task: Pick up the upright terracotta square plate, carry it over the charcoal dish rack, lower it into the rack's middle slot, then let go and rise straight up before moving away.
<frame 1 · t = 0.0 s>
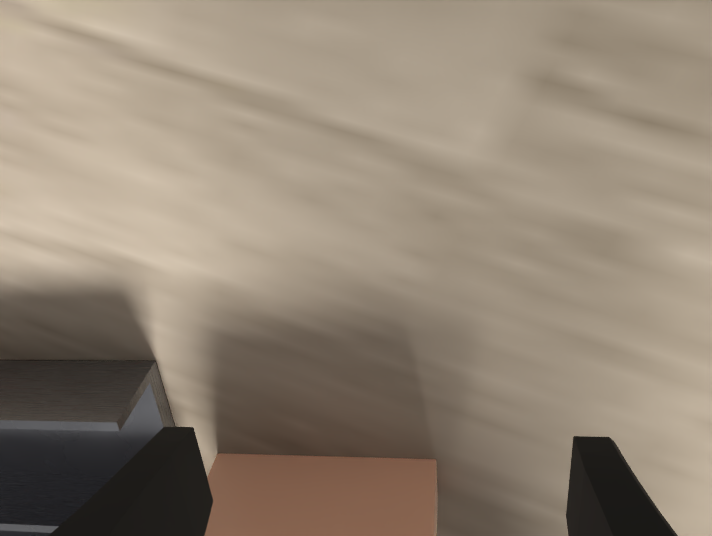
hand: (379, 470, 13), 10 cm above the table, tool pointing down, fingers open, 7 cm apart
rack: (75, 506, 30), on the table
plate: (327, 473, 27), on the table
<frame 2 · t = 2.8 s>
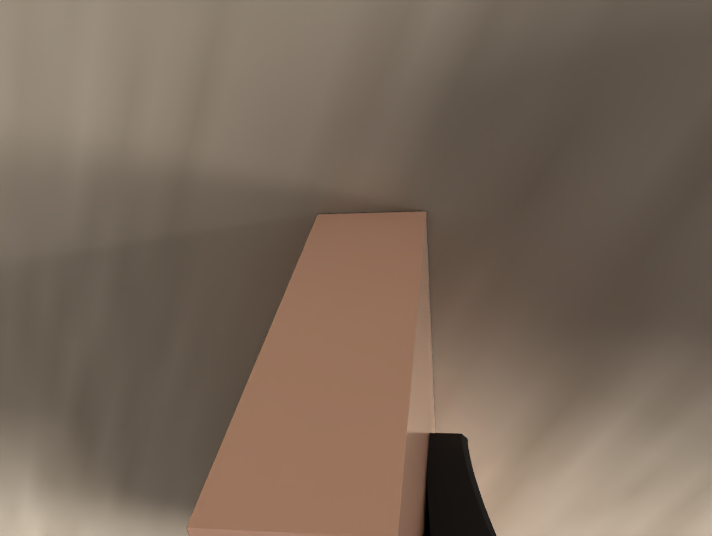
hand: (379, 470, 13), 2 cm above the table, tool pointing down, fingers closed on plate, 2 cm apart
plate: (387, 403, 14), on the table, touching gripper
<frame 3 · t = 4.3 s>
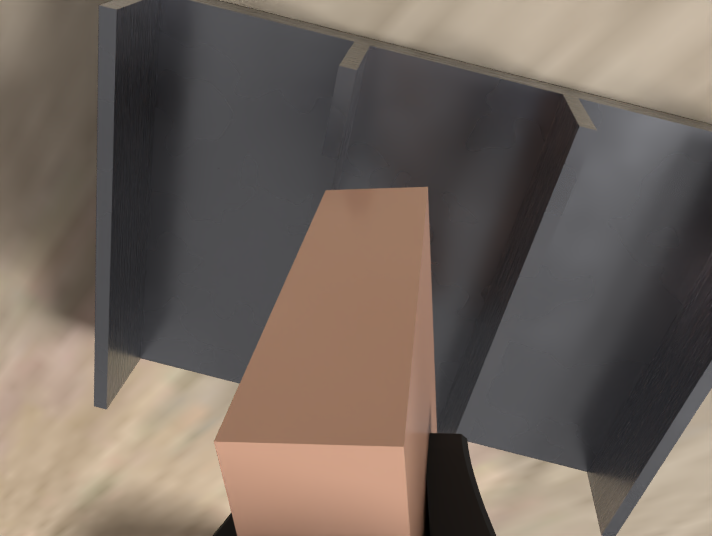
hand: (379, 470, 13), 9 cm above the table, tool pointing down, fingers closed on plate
rack: (408, 256, 20), on the table
plate: (390, 374, 15), point 6 cm above the table, touching gripper
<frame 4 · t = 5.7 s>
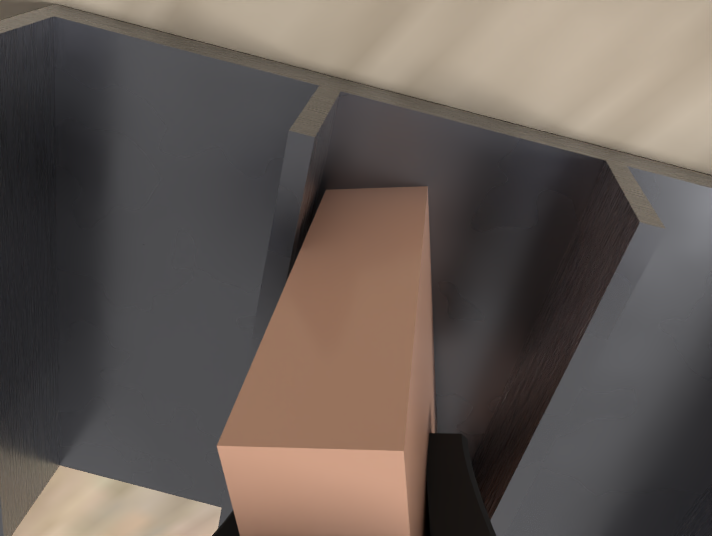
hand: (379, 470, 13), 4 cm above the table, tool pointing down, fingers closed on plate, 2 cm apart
rack: (395, 352, 16), on the table
plate: (390, 371, 15), point 1 cm above the table, touching gripper, rack
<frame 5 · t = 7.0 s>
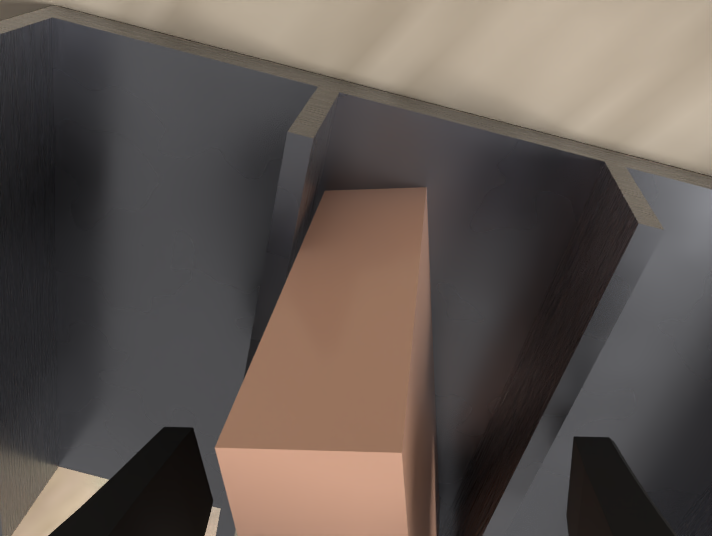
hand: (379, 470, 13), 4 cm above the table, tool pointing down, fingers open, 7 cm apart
rack: (394, 353, 16), on the table
plate: (389, 372, 15), point 1 cm above the table, touching rack
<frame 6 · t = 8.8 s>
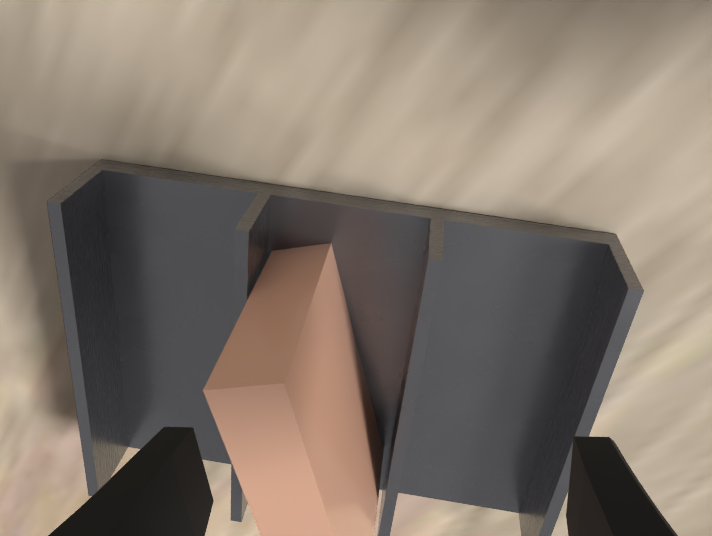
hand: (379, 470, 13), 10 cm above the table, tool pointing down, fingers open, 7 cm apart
rack: (336, 346, 24), on the table
plate: (332, 359, 23), point 1 cm above the table, touching rack
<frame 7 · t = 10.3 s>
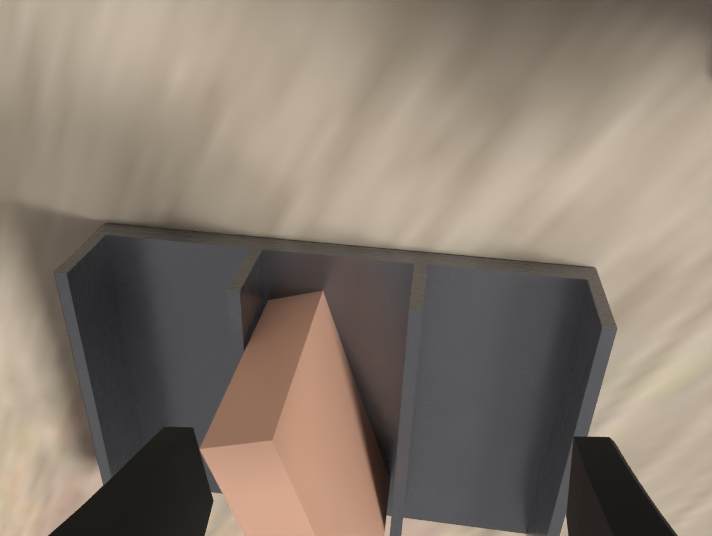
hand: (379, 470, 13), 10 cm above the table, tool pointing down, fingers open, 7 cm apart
rack: (338, 383, 25), on the table
plate: (333, 396, 25), point 1 cm above the table, touching rack
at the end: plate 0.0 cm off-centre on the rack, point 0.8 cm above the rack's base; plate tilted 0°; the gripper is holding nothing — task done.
